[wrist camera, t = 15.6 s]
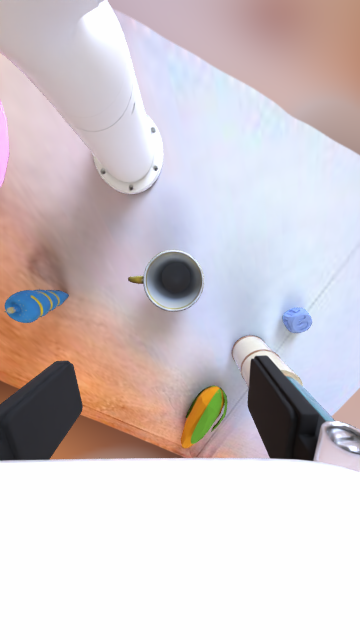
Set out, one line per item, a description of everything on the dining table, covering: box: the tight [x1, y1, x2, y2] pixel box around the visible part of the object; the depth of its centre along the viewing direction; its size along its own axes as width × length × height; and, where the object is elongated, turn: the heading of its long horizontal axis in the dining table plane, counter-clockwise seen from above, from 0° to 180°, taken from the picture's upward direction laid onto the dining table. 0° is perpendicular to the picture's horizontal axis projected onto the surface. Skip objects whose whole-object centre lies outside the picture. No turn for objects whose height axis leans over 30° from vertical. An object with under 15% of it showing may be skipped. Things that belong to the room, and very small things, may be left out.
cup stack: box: [232, 335, 303, 388], centre depth 38 cm, size 8×8×15 cm
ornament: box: [5, 290, 69, 323], centre depth 36 cm, size 5×5×15 cm
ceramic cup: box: [128, 250, 204, 312], centre depth 36 cm, size 13×10×10 cm
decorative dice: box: [283, 308, 312, 333], centre depth 41 cm, size 4×4×4 cm
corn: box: [181, 386, 227, 448], centre depth 47 cm, size 7×8×20 cm
